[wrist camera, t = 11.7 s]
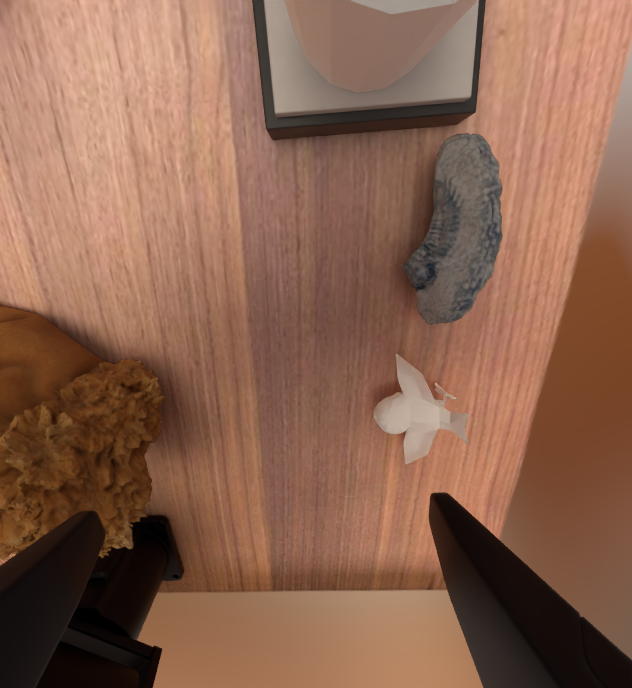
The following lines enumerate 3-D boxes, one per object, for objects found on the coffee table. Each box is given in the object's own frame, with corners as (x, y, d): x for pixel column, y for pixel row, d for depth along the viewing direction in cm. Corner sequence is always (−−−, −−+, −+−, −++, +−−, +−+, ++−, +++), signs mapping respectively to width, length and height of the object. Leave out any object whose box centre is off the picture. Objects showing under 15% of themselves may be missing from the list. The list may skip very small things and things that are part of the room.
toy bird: (357, 353, 19) (404, 384, 15) (423, 332, 21) (483, 356, 16) (371, 461, 22) (415, 513, 18) (428, 437, 23) (482, 480, 19)
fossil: (409, 145, 16) (447, 115, 11) (479, 148, 16) (546, 119, 12) (389, 309, 19) (412, 338, 14) (448, 311, 19) (491, 341, 15)
